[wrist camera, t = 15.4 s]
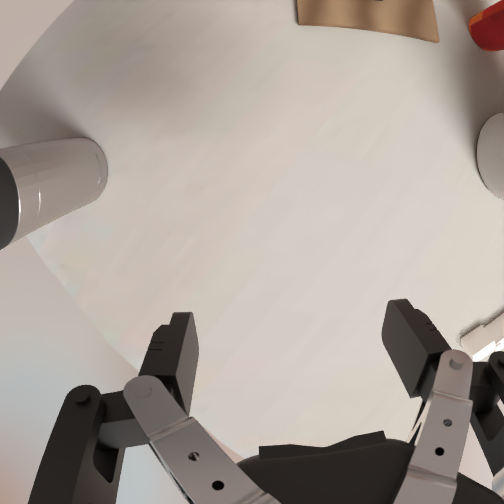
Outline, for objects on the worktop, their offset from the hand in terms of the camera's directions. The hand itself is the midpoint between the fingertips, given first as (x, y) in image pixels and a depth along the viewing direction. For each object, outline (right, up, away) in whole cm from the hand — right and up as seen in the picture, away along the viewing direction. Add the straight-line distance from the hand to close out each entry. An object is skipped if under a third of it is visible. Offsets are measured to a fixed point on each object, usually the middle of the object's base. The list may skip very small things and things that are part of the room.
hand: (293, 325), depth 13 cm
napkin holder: (+38, -10, +31) cm, 50 cm away
